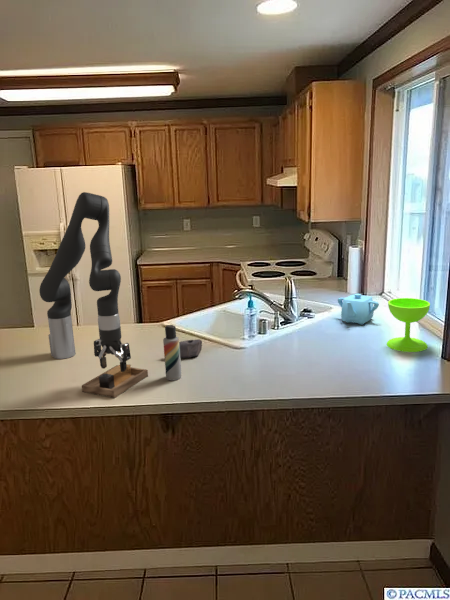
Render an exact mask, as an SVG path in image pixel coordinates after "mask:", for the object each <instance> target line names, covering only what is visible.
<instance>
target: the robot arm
mask: <svg viewBox="0 0 450 600" xmlns="http://www.w3.org/2000/svg"><path fill="white" fill-rule="evenodd" d="M85 219H88V220H93V221H97V224H98V228H97V230H96V232H95V233H94V234H93V236H92V237H91V239H90V243H89V253H90V259H91V268H90V269H91V270H90V273H89V280H88V283H89V287H90V289H91V290H92V291H94V292H102V291H110V292H109V293H108V294H106V295H104V296H101V297H98V298H97V301H96V307H97V324H98V325H97V326H98V334H99V335H98V336H99V338H97V339H95V340H93V353H94V354H93V355H94V357H98V359H99V365H100V367H101V369H105V368H107V366H108V363H107V357H106V356H107V355H110V354H111V355H112V356H113V355H114V356H115V357H116V358H117V359H118V360H119V365H120V370H121V372H124V371H125V370H126V369H127V365H126V364H127V362H128V360H130V359H132V355H131V349H130V343H128V342H126V343H122V341H121V339H122V327H121V318H120V314H119V303H118V299H119V292H120V287H121V282H122V281H121V280H122V277H121V274H120V272H119V271H118V270H117V269H114V268H112V269H110V268H109V267H111V266H112V264H113V258H112V257H113V256H112V250H111V243H110V205H109V200H108V199H107V198H106V196H103V195H99V194H95V193H91V192H85V191H83V192H81V193H80V194H79V195H78V197H77V199H76V201H75V205H74V207H73V210H72V213H71V217H70V220H69V222H68V226H67V228H66V230H65V233H64V235H63V237H62V239H61V241H60V243H59V246H58V249H57V251H56V254H55V255H54V258H53V260H52V263H51V265H50V267H49V269H48V271H47V272H46V273H45V276H44V278H43V279H42V281H41V283H40V285H39V296H40V298H41V300H42V301H44V302H46V303H53V304H52V306H51V307H50V308H49V309H48V310H47V314H46V315H47V320H48V329H49V334H48V335H47V336H48V344H49V349H50V356H51V357H53V359H58V360H61V359H69V358H72V357H74V356H75V355H76V354H77V353H76V345H75V338H74V337H75V336H74V328H73V321H72V320H73V319H72V312H71V311H72V292H71V287H70V283H69V281H68V280H67V278H66V277H67V275H69V274H70V273H71V271H73V270H74V268H76V267H77V266H78V264H79V263H80V261H81V259H82V257H83V255H84V253H85V250H86V241H85V237H84V234H83V232H82V231H83V229H82V224H83V221H84V220H85ZM106 268H107V269H106ZM108 268H109V269H108Z"/></svg>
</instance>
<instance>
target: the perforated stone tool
mask: <svg viewBox="0 0 450 600" xmlns="http://www.w3.org/2000/svg"><path fill="white" fill-rule="evenodd" d="M179 345H180V359H186V358H191V357H198V356H199V355H200V354H201V351H202V350H203V349H202V348H203V347H202V346H203V341H202V340H201V339H199V338H198V339H190V340H189V339H187V340H181V341H179Z"/></svg>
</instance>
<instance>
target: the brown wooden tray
mask: <svg viewBox="0 0 450 600" xmlns="http://www.w3.org/2000/svg"><path fill="white" fill-rule="evenodd" d="M118 365H119V364H117V365H115V366H113V367H111V368H109V369H108V370H106V371H104V372H102V373H101V374H99V375H98V376H95V377H94V378H92V379H91V380H89V381H87V382H85V383H83V384H81V391H82V393H87V394H91V395H97V396H101V397H102V396H103V397H107V398H113V399H115V398H117V397H119V396H120V395H122V394H123V393H125V392H126V391H127V390H129V389H131V388H132V387H134V386H136V385H137V384H139V383H140V382H141V381H144V379H146V378H147V377H149V372H148V369H144V368H137V367H133V366H132V367H131V366H130V367H131V377H129V378H128V379H126V380H125V381H123V382H122V383H120V384H118V385H117V386H115V387H114V388H112V389H108V388H102V387H100V383H99V376H101V375H102V374H104V373H106V372H108V371H109V370H111V369H113V368H115V367H116V366H118Z"/></svg>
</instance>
